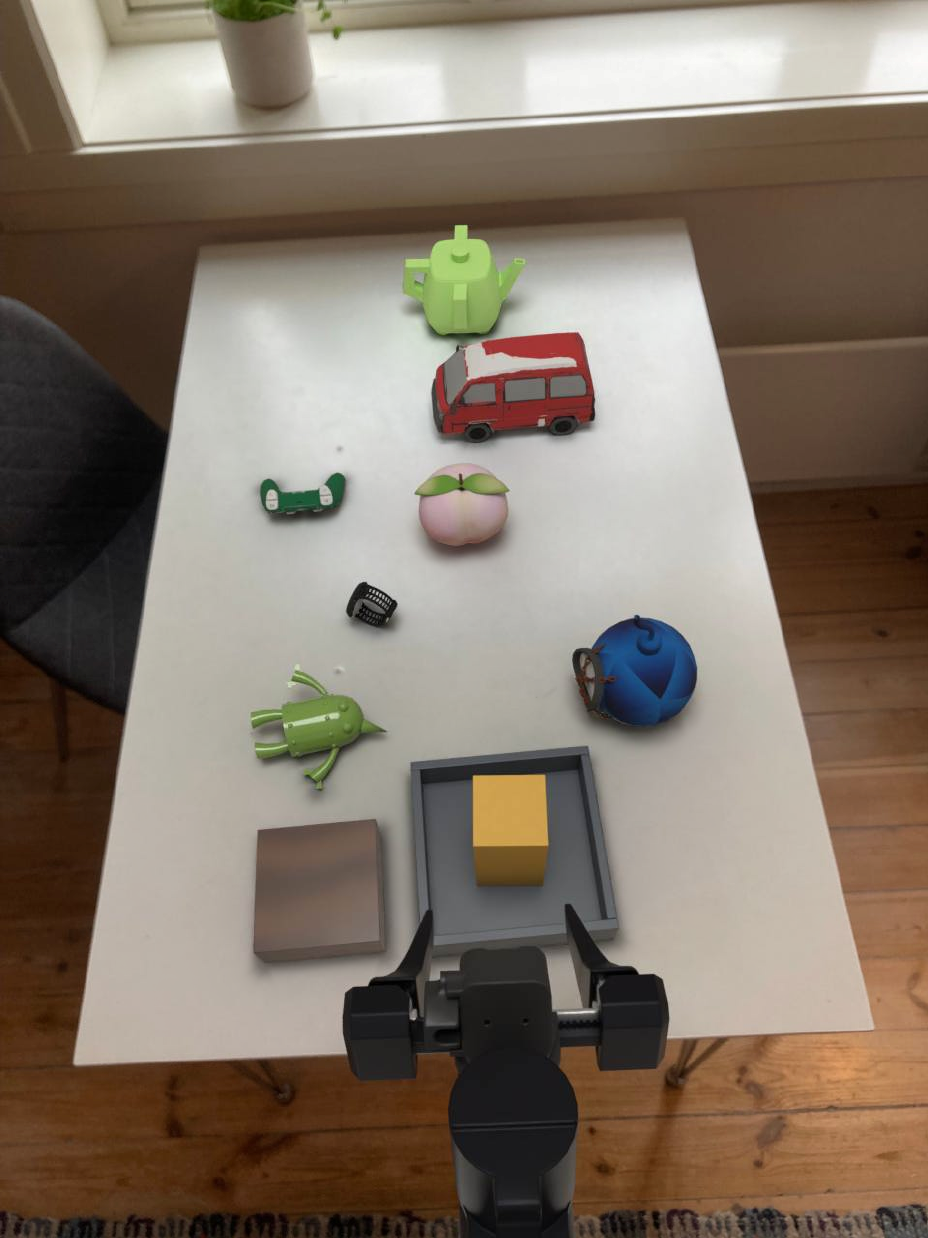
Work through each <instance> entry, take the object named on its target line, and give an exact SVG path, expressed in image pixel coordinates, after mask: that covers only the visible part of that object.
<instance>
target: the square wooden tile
mask: <svg viewBox="0 0 928 1238" xmlns="http://www.w3.org/2000/svg"><path fill="white" fill-rule="evenodd" d="M382 848H383V847H382V833H381V830H380V827H379V825H378V822H377V819H376V818H370V819H368V818H367V819H359V820H350V821H348V820H347V821H339V822H329V823H327V822H326V823H318V824H306V825H293V826H285V827H274V828H273V827H272V828H263V829H257V839H256V865H255V866H256V868H255V897H254V919H253V920H254V921H253V923H254V925H253V951H252V952H253V954H254V955H255V956H256V957H257V958H258V959H260V961H262V962H263V963H264V964H269V963H278V962H289V961H290V962H291V961H301V960H311V959H321V958H330V957H340V956H341V957H342V956H352V955H363V954H372V953H373V954H375V953H383V952H385V953H386V929H385V928H386V926H385V900H384V876H383V875H384V873H383V850H382Z"/></svg>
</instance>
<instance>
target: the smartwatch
mask: <svg viewBox="0 0 928 1238" xmlns="http://www.w3.org/2000/svg"><path fill="white" fill-rule="evenodd" d="M365 600H366V601H369V602H370V603H372V604H374V605H376V606H377V607H379V608H380V609H381V610H382V612H384V613H381V612H378V611H376V610H373V609H372V608H370V607H369V606H367V605H366V603H365V602H364V601H365ZM398 603H399V602H397V600H396V599H393V598H392V597H391V596H390V595H389V594H387V592H385V591H383V590H381V589H379V588H378V587H376V586H373V585H371V584H368V582H367V581H362V582H359V583H358V584H357V585H356V586H355V588H354V590H353V592H352V594H351V596H350V597H349V599H348V602H347V605H346V609H345V613H346V615H347V616H348V618H353V617H354V618H355V619H358V620H360V621H361V622H363V623H365V624H368V625H369V626H372V627H377V628H379V627H382V626H384V625H385V624H386V623H387V622H388V621H389V620H391V618H392V617H393V615H394V612H395V611H396V609H397V608H398V605H399V604H398ZM370 613H371V614H370Z"/></svg>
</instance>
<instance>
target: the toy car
mask: <svg viewBox="0 0 928 1238" xmlns="http://www.w3.org/2000/svg"><path fill="white" fill-rule="evenodd" d="M430 393H431V394H430V395H431V402H432V403H431V404H432V416H433V421H434V425H435V428H436V430H437V433H439V434H442V435H454V434H455V435H456V434H463V433H464V436H465V438H466V440H467V441H469V442H472V443H474V444H475V443H483V442H485V441H486V440H488V438H489V437H490V436H491V432H492V434H494V433H495V431H500V430H501V431H503V430H513V429H523V428H537V427H549V430H550V431H551V433H553V435H556V436H566V435H567V436H568V435H569V434H570V433H571V432H573V431H574V430H575V429H576V427H577V425H578V426H580V424H581V423H590V422H594V421H595V418H596V409H595V408H596V407H595V404H596V397H595V395H596V394H595V388H594V384H593V377H592V374H591V368H590V364H589V360H588V355H587V350H586V344H585V341H584V338H583V337H582V336H581V334H580V333H579V332H578V331H576V332H575V331H573V332H554V333H553V332H552V333H542V334H532V335H531V334H530V335H521V336H520V335H519V336H510V337H502V338H496V339H495V338H494V339H488V340H484V341H481V342H476V343H473V344H468V345H465V346H463V345H460V344H457V345H456V347H455V352H454V353H453V354H452V355H451V356H450V357H448V358H447V359H446V360H445V361H444V362H442V363H441V364H440V365H439V366H437V368H436V370H435V376H434V378H433V380H432V386H431V392H430ZM576 421H577V423H576Z"/></svg>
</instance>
